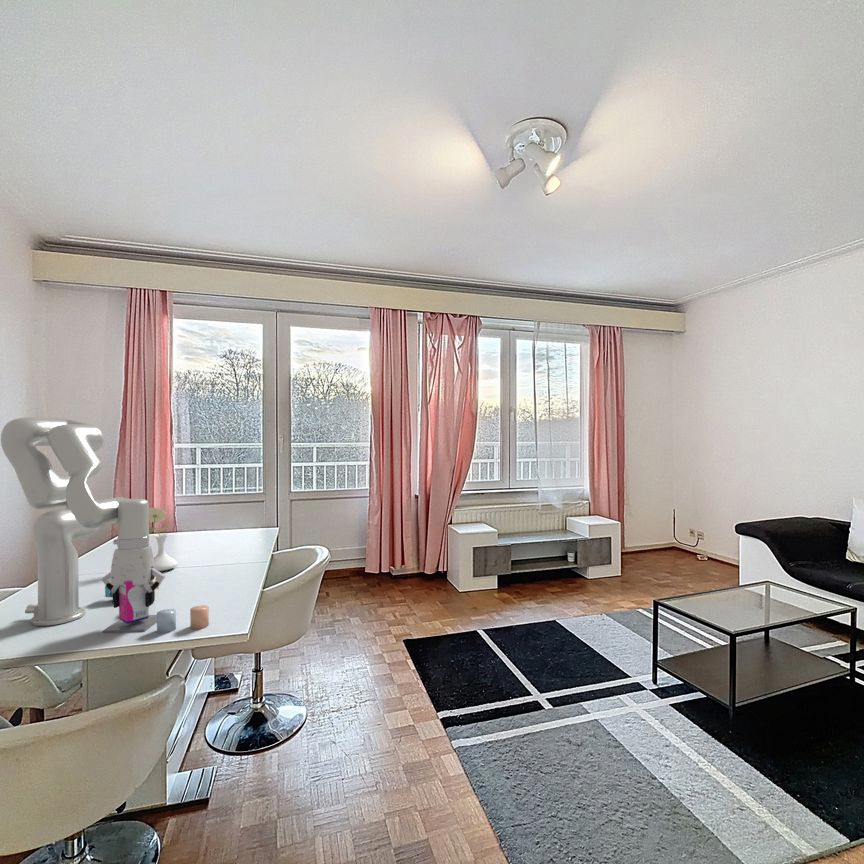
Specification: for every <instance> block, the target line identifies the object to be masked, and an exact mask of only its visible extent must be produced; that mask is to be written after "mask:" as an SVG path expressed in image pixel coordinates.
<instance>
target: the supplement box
mask: <svg viewBox="0 0 864 864" xmlns="http://www.w3.org/2000/svg"><path fill="white" fill-rule="evenodd" d="M146 593H147V590H146V588H145V587H144V585H141V586H134V585H133V582H132V581H124V585H123V586H119V606H118V611H119V612H118V614H119V615H118V618H119V619H118V620H122V621H123V622H125V623H126V624H128V623H132V622H136V621H139V620H143V619H147V618H149V615H150V614H149V613H150V611H149V609H150V608H149V607H150V606H149V607H146V606H145V594H146Z"/></svg>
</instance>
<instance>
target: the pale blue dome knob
mask: <svg viewBox="0 0 864 864" xmlns="http://www.w3.org/2000/svg"><path fill="white" fill-rule="evenodd" d="M156 615H157V622H156V633H157V634H162V635H163V634H169V633H171V632H175V631H176V629H177V610H176V609H175V608H165V609H162V610H159V611H157V612H156Z"/></svg>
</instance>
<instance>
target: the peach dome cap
mask: <svg viewBox="0 0 864 864" xmlns="http://www.w3.org/2000/svg"><path fill="white" fill-rule="evenodd" d="M209 608H210V607H209V605H205V604H204V605H195V606H193V607H191V608H190V612H189V613H190V615H189V621H190V623H189V624H190V627H189V628H190V629H191V630H202V629H205V628H207V627H209V625H210V624H209V623H210V621H209V620H210V619H209V618H210V617H209V616H210V614H209V613H210V612H209Z"/></svg>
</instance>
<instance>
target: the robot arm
mask: <svg viewBox="0 0 864 864" xmlns="http://www.w3.org/2000/svg"><path fill="white" fill-rule="evenodd" d="M104 441H105V437H104V434H103V432H102V431H101V430H100V428H98V426H95V425H93V424H91V423H86V422H81V421H77V420H72V419H68V418H58V417H54V418H53V417H31V416H30V417H28V416H27V417H19V418H15V419H12V420H10V421H8V422H6V424H5V425H4V426H3V428H2V431H1V434H0V445H1V449H2V451H3V453H4V455H5V457H6V459H7V460H8V461H9V462H10V465H11V466H12V467H13V469H14V471H15V474H16V476H17V479H18V481H19V483H20V485H21V489H22V490H23V493H24V496H25V498H26V500H27V502H28V504H29V505H30V506H31V508H33V509H37V510H46V509H47V510H48V509H53V510H50V511H47V512H43V513H42V514H40V515H39V516H37V518H35V520H34V522H33V524H32V533H33V534H32V535H33V538H34V541H35V546H36V554H37V555H36V556H37V557H36V558H37V604H28V605H27V606H26V608H25V610H24V613H25V614H33V616H32V618H31V619H30V624H31V625H33V626H36V627H43V626H44V627H46V626H49V627H50V626H55V625H61V624H65V623H69V622H72V621H75V620H78V619H80V618H81V617H83V616H84V615H85V614H86V608H84V607H82V606H81V607H79V606H80V604H79V602H80V601H79V600H80V598H79V591H80V590H79V553H78V551H77V549H76V547H75V546H74V544H73V543H72V541H74V540H77V539H82V538H85V537H89V536H92V535H95V534H96V533H97V532H98V531H99V529H100V528H103V527H106V526H107V527H108V526H113V525H117V539H113V542H112V543H113V545H116V547H117V548H116V549H114V551H113V554H112V555H113V556H112V560H111V566H110V572H109V573H107V574H106V575H104V576H103V577H102V578H101V581H102V582H103V584H104V585H105V584H106V587H107V588H108V589H109V590H110V592H111V593H112V594H113V598H112V604H113V608H114V609H116V608H119V586H123V585H124V581H132V582H133V585H134V586H141V585H144V587H145V588H146V590H147V593H146V594H145V606H146V607H151V606H152V605H153V604H154V603H155V601H156V600H155V594H156V593H155V592H156V589H157V587H158V586H159V587H160V585H161V584H162V582H163V581H164V580H165V578H166V575H165V574H163V573H162V572H161V571H157V570H156V569H155V565H154V552H153V548H152V546H150V532H149V527H150V521H149V509H150V506H149V505H150V504H149V501H148V500H146V499H144V498H128V497H127V498H126V497H123V496H119V497H118V496H115V497H110V498H102V499H95V498H94V496H93V494H92V491H91V489H90V487H89V485H88V483H87V481H88V480H89V479H92V478H94V476H96V475H97V474H98V473H99V472H100V471H101V470H102V468H103V465H102V461H101V460H100V459H99V457H98V456H97V454H96V452H97V451H99V450H100V449H101V448H102V447H103V445H104V443H105V442H104ZM45 446H46V447H50V448H51V450H52V451H53V453H54V454H55V457H56V458H57V459H58V461H59V463H60V465H61V466H62V467H63V469H64V471H65V473H66V474H62V475H61V474H60V475H59V474H57V473H56V471H55V469H54V467H53V464H52V462H51V461H50V459H49V458H48V457H47V455H46V454H44V453H43V452H42V451H40V450H39V449H38V448H37V447H45ZM61 507H65V508H61ZM54 508H60V509H55V510H54ZM156 578H157V580H156V582H155V583H154V582H153V581H154V580H155V579H156ZM159 587H158V588H159Z"/></svg>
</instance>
